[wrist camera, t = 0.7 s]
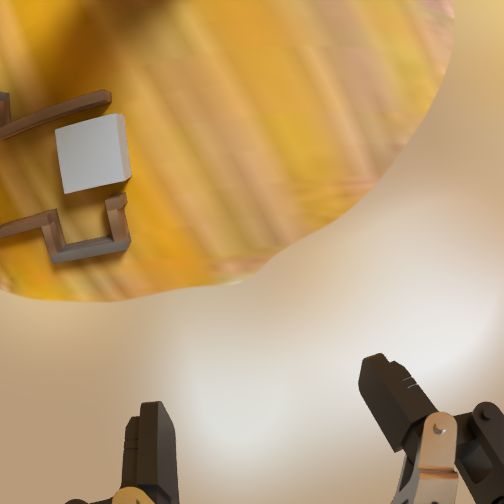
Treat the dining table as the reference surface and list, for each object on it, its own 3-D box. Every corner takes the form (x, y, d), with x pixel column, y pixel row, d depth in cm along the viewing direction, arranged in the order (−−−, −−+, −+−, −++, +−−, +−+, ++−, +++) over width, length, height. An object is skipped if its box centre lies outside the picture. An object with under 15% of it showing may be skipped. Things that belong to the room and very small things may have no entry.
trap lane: (-47, 125, 19) (-59, 126, 17) (108, 55, 22) (100, 49, 20) (-16, 271, 26) (-25, 280, 24) (135, 240, 29) (131, 249, 27)
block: (69, 129, 24) (54, 129, 21) (124, 115, 25) (115, 113, 22) (77, 187, 26) (64, 194, 23) (132, 175, 27) (124, 181, 24)
